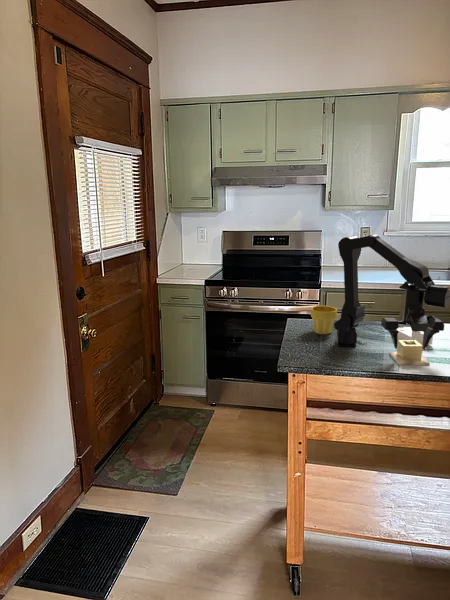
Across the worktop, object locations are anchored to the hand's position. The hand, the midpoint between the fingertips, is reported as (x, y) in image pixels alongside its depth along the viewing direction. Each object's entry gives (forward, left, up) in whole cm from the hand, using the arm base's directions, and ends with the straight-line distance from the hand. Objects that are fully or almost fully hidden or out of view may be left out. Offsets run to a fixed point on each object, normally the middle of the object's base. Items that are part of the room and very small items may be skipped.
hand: (409, 348), depth 150 cm
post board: (0, 0, -4) cm, 4 cm away
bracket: (+8, +20, -4) cm, 21 cm away
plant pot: (-24, +30, -4) cm, 39 cm away
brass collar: (0, 0, -3) cm, 3 cm away
